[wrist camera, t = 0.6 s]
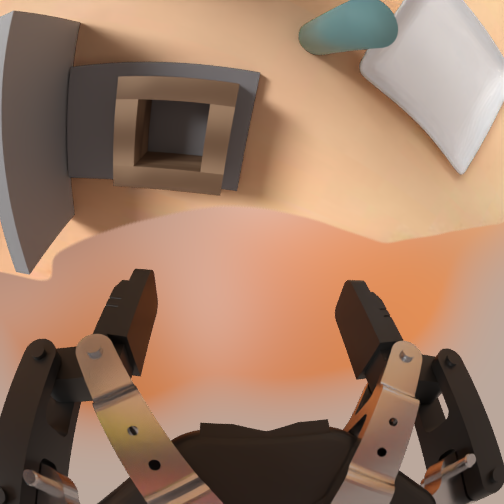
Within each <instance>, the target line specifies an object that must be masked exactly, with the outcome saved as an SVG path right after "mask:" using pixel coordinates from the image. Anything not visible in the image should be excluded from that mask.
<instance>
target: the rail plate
mask: <svg viewBox="0 0 504 504" xmlns="http://www.w3.org/2000/svg"><path fill="white" fill-rule="evenodd" d="M122 76H167V77H185V78H197V79H207V80H216V81H224V82H232V83H238V84H240V85H239V90H238V95H237V101H236V106H235V111H234V116H233V122H232V127H231V133H230V139H229V144H228V150H227V156H226V162H225V168H224V174H223V181H222V187H221V189H226V190H234V191H237V188H238V183H239V177H240V172H241V167H242V161H243V156H244V151H245V146H246V141H247V136H248V130H249V125H250V120H251V116H252V111H253V106H254V101H255V96H256V91H257V87H258V82H259V77H260V73H259V72H254V71H248V70H242V69H235V68H228V67H220V66H211V65H201V64H189V63H172V62H122V63H105V64H93V65H84V66H76V67H71V70H70V79H69V92H68V110H67V153H68V172H69V177H70V178H98V179H113V141H114V120H115V106H116V94H117V85H118V77H122ZM209 109H210V104H206V103H196V102H185V101H170V100H152V105H151V114H150V125H149V137H148V151H150V152H164V153H177V154H187V155H197V156H203V149H204V141H205V135H206V128H207V122H208V115H209Z"/></svg>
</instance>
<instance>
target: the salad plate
mask: <svg viewBox="0 0 504 504" xmlns="http://www.w3.org/2000/svg"><path fill="white" fill-rule="evenodd" d="M394 16H395V18H396V20H397V24H398V35H397V38H396V40H395V41H394V42H393V43H392V44H391V45H390V46H388V47H385V48H375V49H367V51H366V52H365V54H364V56H363V58H362V59H361V62H360V65H359V70H360V73H361V74H362V75H363V77H364V78H366V79H367V80H368V81H369V82H370V83H372V84H373V85H374V86H375V87H376V88H378V89H379V90H380V91H381V92H383V93H384V94H385V95H386V96H388V97H389V98H390V99H391V100H392V101H394V102H395V103H396V104H397V105H398V106H399V107H401V108H402V109H403V110H404V111H405V112H406V113H407V114H408V115H409V116H410V117H412V118H413V119H414V120H415V121H416V122H417V123H418V124H419V125H420V126H421V128H422V129H423V130H424V131H425V132H426V133H427V134H428V135H429V136H430V138H431V139H432V140H433V141H434V142H435V144H436V145H437V146H438V147H439V149H440V150H441V151H442V152H443V154H444V155H445V157H446V158H447V159H448V161H449V162H450V163H451V165H452V166H453V167H454V169H455V170H456V171H457V172H458V173H459V174H464V173H465V171H466V170H467V168H468V166H469V165H470V163H471V162H472V160H473V158H474V157H475V155H476V153H477V151H478V150H479V148H480V146H481V144H482V143H483V141H484V139H485V137H486V135H487V133H488V132H489V130H490V128H491V126H492V124H493V122H494V120H495V118H496V116H497V114H498V112H499V110H500V108H501V106H502V104H503V102H504V57H503V56H502V54H501V52H500V51H499V49H498V47H497V46H496V44H495V42H494V41H493V39H492V38H491V36H490V35H489V33H488V32H487V31H486V29H485V28H484V26H483V25H482V24H481V22H480V21H479V20H478V18H477V17H476V16H475V14H474V13H473V12H472V11H471V9H470V8H469V7H468V6H467V4H466V3H465V2H464V1H463V0H403V2H402V3H401V5H400V6H399V8H398V9H397V11H396V12H395V14H394Z"/></svg>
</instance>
